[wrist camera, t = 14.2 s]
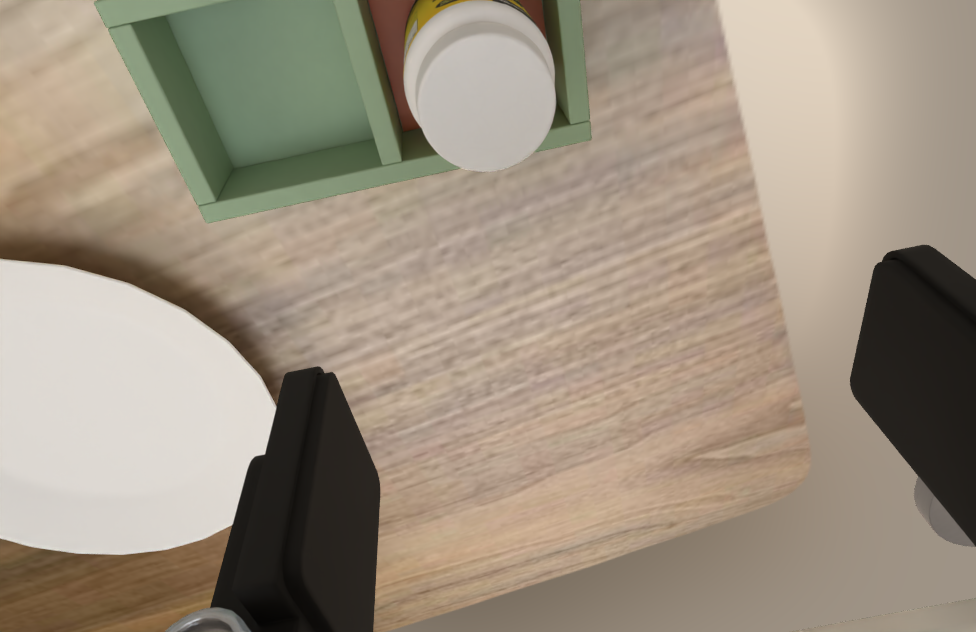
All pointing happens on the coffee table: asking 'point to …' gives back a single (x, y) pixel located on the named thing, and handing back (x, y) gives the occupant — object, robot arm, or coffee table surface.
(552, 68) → the supplement bottle
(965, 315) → the robot arm
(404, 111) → the holder
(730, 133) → the coffee table surface
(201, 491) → the plate
